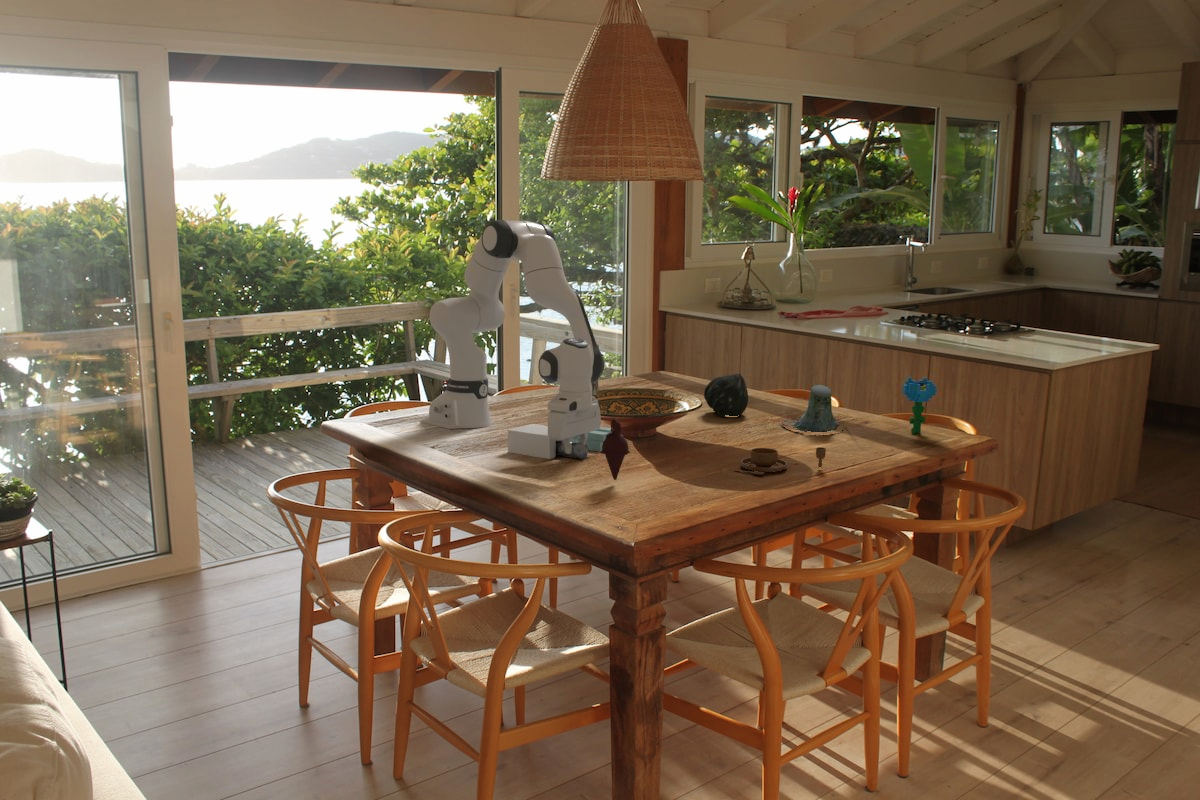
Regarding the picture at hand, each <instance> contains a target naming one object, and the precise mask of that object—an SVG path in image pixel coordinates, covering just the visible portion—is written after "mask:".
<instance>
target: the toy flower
mask: <svg viewBox="0 0 1200 800" xmlns="http://www.w3.org/2000/svg"><path fill="white" fill-rule="evenodd" d="M933 382H934V381H933V380H928V378H927V377H922V379H919V380H918V381H917V380H914V379H912V377H909V376H908V377H907V380H905V381H904V384H903V386H902V388H901V389H902V390H901V391H902V394H903V395H904V396H905V398H907V399H908V401H910V402H914V405H912V406H911V410H912V411H911V412H912V415H913V417H912V416H911V417H909V422H908V424H909V425H912V427H911V429H910V434H911V433H912V434H911V435H915V433H920V434H921V430H922V424H925V423H926V416H925V415H922V414H923V413H924V410H925V406H924V405H923V403H925V402H930V401H929V400H930V399H933V396H936V394H937V385H935V383H933Z"/></svg>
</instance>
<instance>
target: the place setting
mask: <svg viewBox="0 0 1200 800" xmlns="http://www.w3.org/2000/svg"><path fill="white" fill-rule="evenodd" d="M826 449H827V448H826V447H821V446H820V447H819V446H818V447H815V457H816V458H817V459H818V464H817V466H818V468H819V467H821V468H822V467H823V459H825V458H826V455H827V454H826V452H827V451H826ZM778 457H779V452H778V449H775V448H769V447H757V448H756V447H755V448H752V449H751V450H750V457H746V458H743V459H741V460H740V465H741V467H742V468H743V469H744V468H745V470H739V471H740V472H739V473H741V472H742V473H751V474H753V475H756V474H757V476H759V475H760V476H761V475H762V476H763V475H764V474H765V473H764V472H773V471H780V470H783V469H784V470H785V469H786V468H787V467H788V462H786V461H785V460H782V459H779V458H778ZM748 462H752V463H751V464H752V465H756V467H754V466H749V465H750V464H748V465H746V464H745V463H748ZM776 462H778V463H781V464H783V465H784V466H781V467H773V468H770V467H772V466H773V465H775V464H776ZM746 469H748V470H746ZM749 470H752V471H749ZM784 470H783V471H784ZM753 471H758V472H753ZM780 472H781V471H780Z"/></svg>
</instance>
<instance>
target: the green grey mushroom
mask: <svg viewBox="0 0 1200 800" xmlns="http://www.w3.org/2000/svg"><path fill="white" fill-rule="evenodd" d="M832 410H833V409H832V390H831V389H830V387H828V386H826V385H823V384H816V385H812V387H811V389H810V393H809V399H808V404H807V409H805V412H804V413H803V414H802V415H801V417H800V418H799V419H800V420H799V421H797V420H796V421H795V420H792V421H790V422H789V420H790V419H784V420H783V421H784V422H787V421H788V423H789V424H790V423H795V424H794V425H792V426H794V427H793V428H797V429H795V430H800V431H804V432H807V431H811V432H827V431H831V430H836V429H837V427H838V426H840V424H839V425H838V424H837V423H838V422H837V421H836V417H835V416H834V414H833V411H832ZM782 425H783V426H788V425H787V424H783V422H781V426H782Z"/></svg>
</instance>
